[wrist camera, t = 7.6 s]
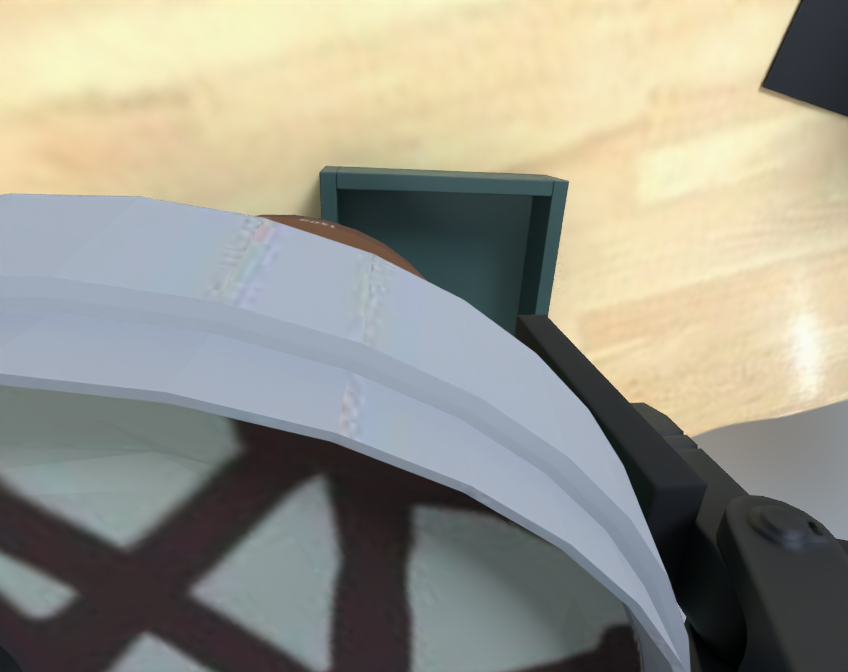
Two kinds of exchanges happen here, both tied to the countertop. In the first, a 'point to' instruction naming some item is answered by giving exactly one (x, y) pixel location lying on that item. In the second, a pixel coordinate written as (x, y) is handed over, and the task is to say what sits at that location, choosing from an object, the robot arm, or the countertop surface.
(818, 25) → the black-topped pedestal
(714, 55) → the countertop surface
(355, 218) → the tray
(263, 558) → the food container
